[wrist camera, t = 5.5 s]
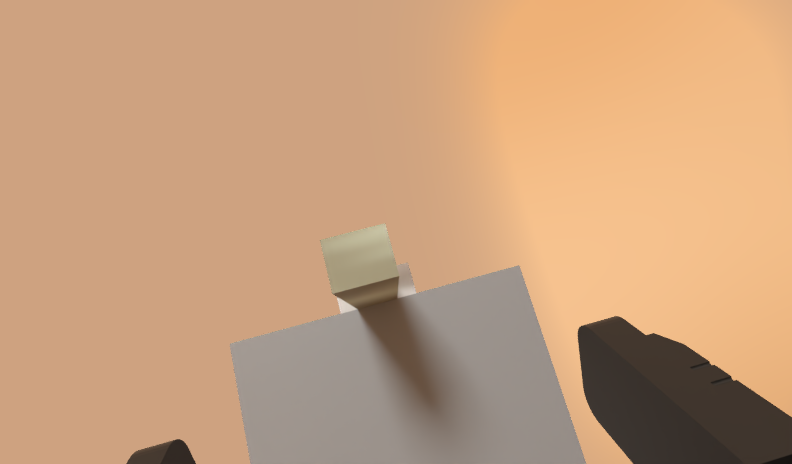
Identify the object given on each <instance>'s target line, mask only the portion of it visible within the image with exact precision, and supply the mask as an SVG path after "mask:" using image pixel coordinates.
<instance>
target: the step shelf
mask: <svg viewBox="0 0 792 464" xmlns="http://www.w3.org/2000/svg"><path fill="white" fill-rule="evenodd" d="M230 348H231V354H232V360H233V365H234V371H235V377H236V383H237V388H238V394H239V400H240V406H241V411H242V417H243V422H244V429H245V434H246V440H247V446H248V452H249V457H250V463H251V464H586V462H585V459H584V456H583V453H582V450H581V447H580V444H579V441H578V438H577V435H576V432H575V429H574V426H573V423H572V420H571V417H570V414H569V411H568V409H567V406H566V403H565V400H564V397H563V394H562V391H561V388H560V385H559V382H558V379H557V376H556V373H555V370H554V367H553V364H552V361H551V358H550V355H549V352H548V349H547V346H546V344H545V340H544V338H543V335H542V332H541V329H540V326H539V323H538V320H537V317H536V314H535V311H534V308H533V305H532V302H531V299H530V296H529V293H528V290H527V287H526V284H525V281H524V278H523V276H522V272H521V270H520V267H519V266H515V267H512V268H508V269H504V270H500V271H497V272H493V273H489V274H486V275H482V276H478V277H475V278H471V279H467V280H464V281H460V282H456V283H453V284H449V285H445V286H442V287H438V288H434V289H430V290H427V291H423V292H419V293H416V294H412V295H408V296H405V297H401V298H397V299H394V300H390V301H386V302H382V303H379V304H375V305H371V306H368V307H364V308H360V309H357V310H353V311H349V312H346V313H342V314H338V315H335V316H331V317H327V318H324V319H320V320H316V321H312V322H309V323H305V324H302V325H298V326H294V327H290V328H287V329H283V330H279V331H276V332H272V333H269V334H265V335H261V336H257V337H254V338H250V339H246V340H242V341H239V342H235V343H232V344H230Z"/></svg>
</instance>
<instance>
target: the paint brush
mask: <svg viewBox="0 0 792 464" xmlns="http://www.w3.org/2000/svg"><path fill="white" fill-rule="evenodd" d="M320 242H321V247H322V251H323V255H324V259H325V264H326V268H327V272H328V277H329V281H330V285H331V290H332V293H333V294H334V295H335V296H337V299H338V304H339V308H340V312H341V314H342V313H346V312H349V311H353V310H357V309H360V308H364V307H368V306H371V305H375V304H379V303H382V302H386V301H390V300H394V299H397V298H401V297H405V296H408V295H412V294H416V290H415V287H414V283H413V280H412V276H411V272H410V269H409V265H408V263H405V264H400V265H397V266H396V262H395V258H394V255H393V251H392V247H391V244H390V240H389V236H388V232H387V229H386V226H385V224H381V225H377V226H374V227H369V228H366V229H362V230H358V231H354V232H350V233H346V234H343V235H339V236H335V237H331V238H327V239H323V240H320Z"/></svg>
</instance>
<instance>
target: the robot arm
mask: <svg viewBox="0 0 792 464" xmlns="http://www.w3.org/2000/svg"><path fill="white" fill-rule="evenodd" d="M578 343H579V352H580V361H581V370H582V379H583V388H584V393H585V396H586V400H587V402H588V405H589V407H590V409H591V411H592V413H593V415H594V416H595V417H596V419H597V421H598V422H599V423H600V424H601V425H602V427H603V428H604V429H605V430H606V431H607V433H608V434H609V435H610V436H611V437H612V439H613V440H614V441H615V442H616V443H617V445H618V446H619V447H620V448H621V449H622V451H623V452H624V453H625V454H626V455H627V457H628V458H629V459H630V460H631V461H632V462H633V464H792V417H790V416H789V415H787V414H786V413H785V412H783V411H782V410H780V409H779V408H777V407H776V406H774V405H773V404H771V403H770V402H768V401H767V400H765V399H764V398H762V397H761V396H759V395H758V394H756V393H755V392H754V391H752V390H751V389H749V388H747V387H746V386H745V385H743V384H742V383H740V382H739V381H737V380H736V381H733V380H732V378H731V376H730V375H728V374H727V373H725V372H724V371H723V370H721V369H720V368H718V367H717V366H715V365H711V364H710V363H709V361H708V360H706V359H705V358H703V357H702V356H700V355H699V354H697V353H696V352H695V351H693V350H692V349H690V348H689V347H687V346H686V345H684V344H682V343H679V342H676V341H673V340H670V339H668V338H665V337H662V336H660V335H657V334H654V333H653V334H650V335H645V334H643V333H642V332H641V331H639V330H638V329H637V328H635V327H634V326H632V325H631V324H630V323H628V322H627V321H626V320H624V319H623V318H621V317H618V316H615V317H611V318H608V319H604V320H601V321H597V322H594V323H591V324H587V325H584V326H581V327H580V328H579V330H578ZM127 464H196V463H195V461H194V459H193V457H192V455H191V453H190V451H189V449H188V447H187V445H186V444H185V443H184V442H183V441H182V440H180V439H177V440H173V441H170V442H167V443H163V444H159V445H156V446H153V447H149V448H145V449H142V450H138V451H136V452H135V453H134V454H133V455H132V456H131V457H130V459H129V460H128V462H127Z"/></svg>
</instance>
